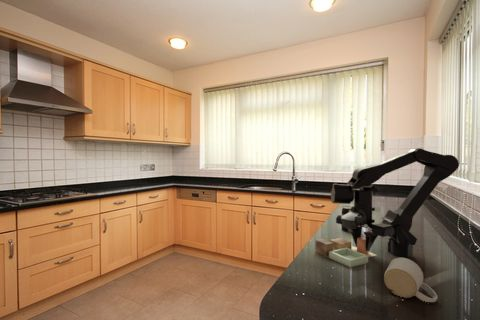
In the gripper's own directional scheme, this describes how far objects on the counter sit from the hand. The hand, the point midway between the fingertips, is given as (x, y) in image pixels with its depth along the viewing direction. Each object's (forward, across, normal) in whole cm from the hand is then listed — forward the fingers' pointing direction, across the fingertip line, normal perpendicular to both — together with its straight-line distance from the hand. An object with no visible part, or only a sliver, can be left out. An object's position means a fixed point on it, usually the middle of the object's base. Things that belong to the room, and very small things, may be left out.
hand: (362, 249), depth 85 cm
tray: (+1, +3, -10) cm, 11 cm away
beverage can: (+3, -20, +18) cm, 27 cm away
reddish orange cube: (+1, 0, 0) cm, 1 cm away
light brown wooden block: (+1, -5, -5) cm, 7 cm away
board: (+2, -2, -6) cm, 7 cm away
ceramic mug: (+3, +21, -11) cm, 24 cm away
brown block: (+1, -5, -13) cm, 14 cm away
